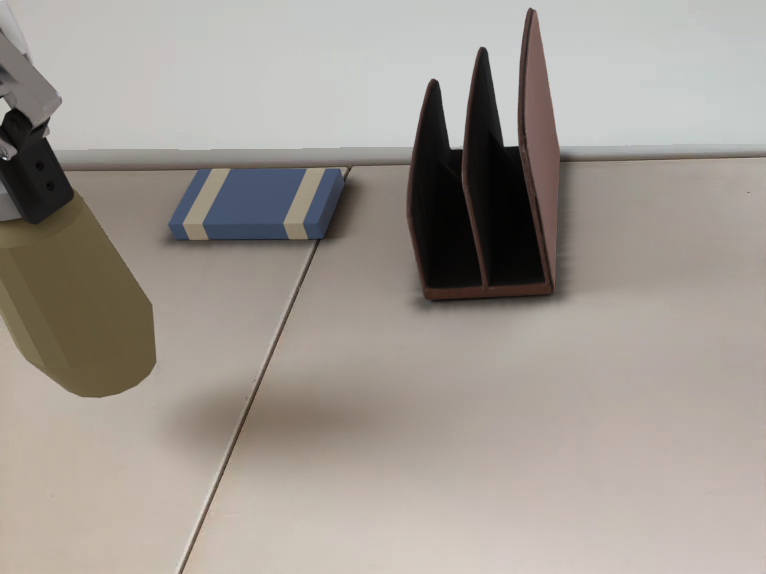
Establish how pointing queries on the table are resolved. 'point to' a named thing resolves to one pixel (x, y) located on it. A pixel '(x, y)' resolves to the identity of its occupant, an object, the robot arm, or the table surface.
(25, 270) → the squeeze bottle
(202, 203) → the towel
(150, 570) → the table surface
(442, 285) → the letter holder
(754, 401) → the table surface
